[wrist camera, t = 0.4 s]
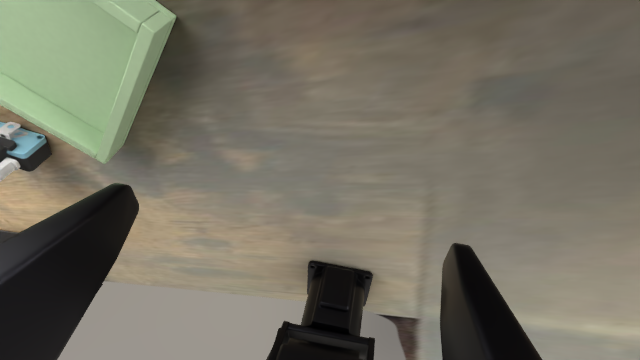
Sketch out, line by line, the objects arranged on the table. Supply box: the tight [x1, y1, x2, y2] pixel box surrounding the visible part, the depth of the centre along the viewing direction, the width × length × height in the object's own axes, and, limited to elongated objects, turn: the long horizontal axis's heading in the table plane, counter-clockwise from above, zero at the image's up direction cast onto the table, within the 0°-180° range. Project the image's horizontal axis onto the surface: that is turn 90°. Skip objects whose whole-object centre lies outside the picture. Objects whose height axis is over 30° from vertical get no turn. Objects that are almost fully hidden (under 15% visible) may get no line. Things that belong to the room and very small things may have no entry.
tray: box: [0, 0, 176, 164], centre depth 23 cm, size 17×14×3 cm
